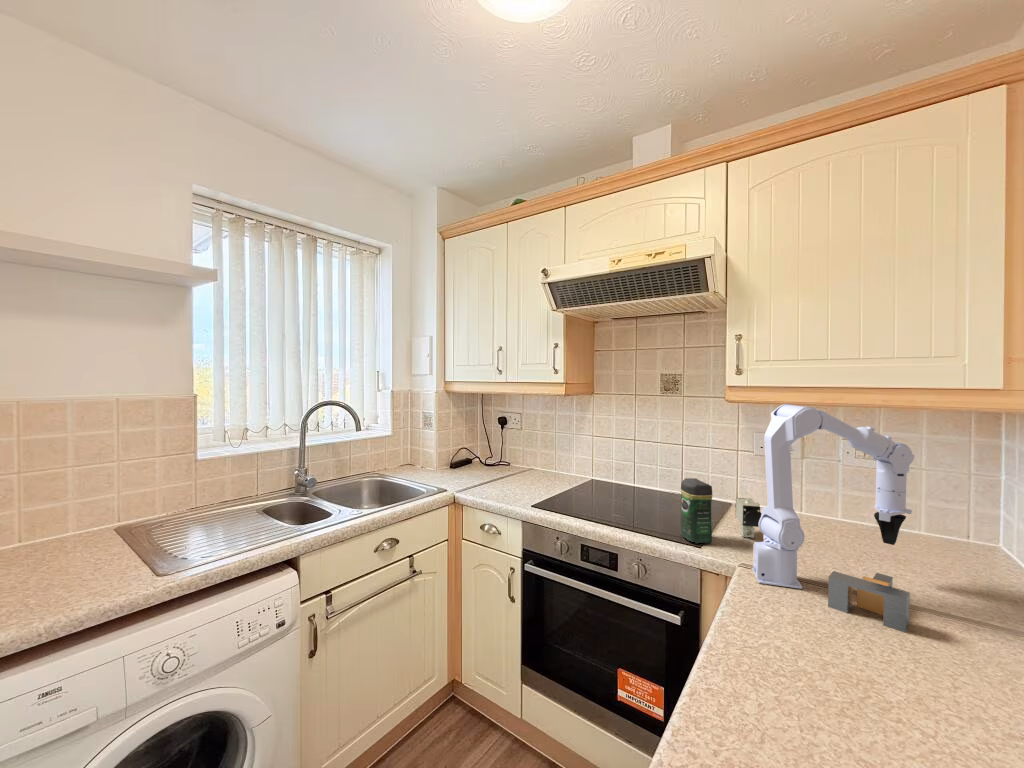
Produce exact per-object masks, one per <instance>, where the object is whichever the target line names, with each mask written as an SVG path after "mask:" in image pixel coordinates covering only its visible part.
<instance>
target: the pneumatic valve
mask: <svg viewBox="0 0 1024 768" xmlns="http://www.w3.org/2000/svg"><path fill="white" fill-rule="evenodd" d="M734 505H735V506H734V507H735V518H736V519H737V520H738V521H739V522H740V524H739V526H740V529H739V530H740V531H739V534H740V535H741V537H742V536H743V537H745V538H748V537H750V538H751V539H755V535H754V534H755V528H759V525H758V524H759V520H760V518H761V515H762V511H761V507H760V503H759V502H755V501H754V500H753V499H752V498H748V497H747V498H746V497H745V498H744V497H736V498H735V504H734ZM743 537H742V538H743Z"/></svg>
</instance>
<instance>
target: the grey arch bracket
mask: <svg viewBox="0 0 1024 768" xmlns="http://www.w3.org/2000/svg"><path fill="white" fill-rule="evenodd" d="M853 588H855V589H857V590H858V589H861V590H864V591H867V592H871V593H874V594H877V595H881V596H884V611H883V617H882V618H883V619H882V625H883V626H884V627H888V628H891V629H894V630H897V631H900V632H903V633H907V631H908V629H909V626H910V603H911V601H910V599H911V598H910V596H911V595H910V594H911V593H910V592H909V591H906V590H901V589H899V588H894V587H893V586H892V587H888V586H885V585H881V584H877V583H874V582H870V581H867V580H863V579H862V578H859V577H856V576H852V575H849V574H847V573H841V572H839V571H836V570H835V571H834V570H833V571H832V572H831V573H830V574H829V576H828V592H827V596H828V598H827V607H828V608H832V609H834V610H837V611H840V612H844V613H846V614H847V613H849V611H851V608H852V607H853Z"/></svg>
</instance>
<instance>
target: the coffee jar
mask: <svg viewBox="0 0 1024 768" xmlns="http://www.w3.org/2000/svg"><path fill="white" fill-rule="evenodd" d="M680 485H681V486H680V496H681V505H680V506H681V509H680V527H679V533H680V534H679V535H680V536H681V535H682V536H683V537H684V538H683V537H682V536H681V537H682V538H683V539H685V538H686V539H687V540H689V541H692V542H695V543H694V544H698V543H706V544H710V543H711V542H712V541H713V534H712V533H713V531H712V530H713V529H712V528H713V527H712V503H713V502H712V500H713V487H712V485H710V484H708V483H706V482H704V481H702V480H700V479H698V478H695V477H692V478H684V479H683V480H681V484H680ZM686 539H685V540H686ZM687 540H686V541H687ZM689 541H688V542H689Z"/></svg>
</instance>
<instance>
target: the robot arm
mask: <svg viewBox="0 0 1024 768" xmlns="http://www.w3.org/2000/svg"><path fill="white" fill-rule="evenodd" d="M818 430H821V431H824V430H825V431H827V432H830V433H831V434H833V435H836V436H839V437H841V438H843V439H846V440H847V443H848V445H849V446H850V448H853V449H855V450H857V451H859V452H862V453H863V454H865V455H867V456H869V457H871V459H872V460H873V461H876V467H875V469H876V470H875V471H876V472H875V473H876V474H875V500H874V501H875V504H874V505H873V507H874V509H875V510H876V512H875V513H874V514H873V515H874V516H873V517H874V519H875V521H876V522H877V524H878V526H879V530H880V535H881V540H882V543H884V544H886V545H887V544H888V545H892V546H895V545H896V543H897V539H898V535H899V532H900V529H901V526H902V524H903V523H904V521H905V520H906V518H907V516H906V515H905V514H908V515H912V513H913V510H912V509H910V508H906V506H907V503H906V501H907V500H906V499H907V476H908V473H909V471H910V466H911V464H912V463H913V462H914V460H915V454H913V451H912V449H911V448H910V446H908V445H907V444H906V443H902V442H896V441H894V440H892V437H891V436H889V435H882V434H881V433H878V432H876V431H875V430H876V429H875V428H874V427H871V426H858V427H853V426H852V425H850V424H848V423H847V422H844V421H843V420H841V419H838V418H837V417H835V416H833V415H831V414H830V413H827V412H826V411H824V410H821V409H817V408H815V407H813V406H801V405H794V404H790V403H789V404H788V403H784V404H781V405H779V406H778V407H776V408H775V409H774V410H773V411H772V412H770V422H769V424H768V426H767V428H766V431H765V433H764V438H763V441H764V443H763V445H764V455H765V456H764V461H765V478H766V479H765V481H766V483H765V484H766V499H767V500H766V501H767V503H766V504H767V505H765V506H764V507H762V508H761V513H762V515H761V518H760V520H759V524H758V525H759V527H758V530H759V531H760V533H761V534H762V535H763V536H762V537H763V539H762V540H763V541H754V542H753V546H752V569H751V570H752V572H753V575H754V576H755V579H756V581H757V582H758V583H759V584H764V585H772V586H779V587H784V588H785V587H786V588H792V589H800V590H801V589H803V585H802V584H801V582H800V581H799V580H798V578H797V577H798V551H799V548H800V547H802V546H803V544H804V541H805V539H806V538H805V533H804V530H803V528H802V527H801V520H800V518H799V516H798V515H797V513H796V511H795V509H794V504H793V503H794V502H793V500H794V499H793V482H792V478H793V477H792V459H791V445H792V444H793V443H795V442H796V441H797V440H798V439H801V438H803V437H806V436H808V435H810V434H812V433H815V432H816V431H818Z"/></svg>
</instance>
